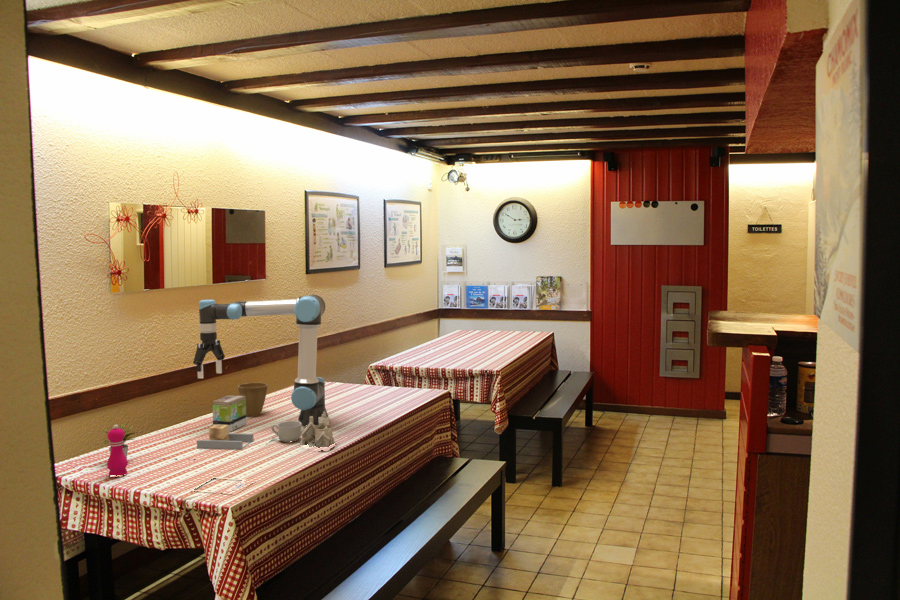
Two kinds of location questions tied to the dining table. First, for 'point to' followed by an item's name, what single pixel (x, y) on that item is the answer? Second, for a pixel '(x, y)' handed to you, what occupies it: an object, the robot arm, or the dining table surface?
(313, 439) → the ceramic cottage
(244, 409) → the tea box
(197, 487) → the clear plastic bag
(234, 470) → the dining table surface
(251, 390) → the plant pot
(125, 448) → the house plant
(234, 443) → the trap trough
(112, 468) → the pepper mill
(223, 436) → the wood block
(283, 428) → the teacup
